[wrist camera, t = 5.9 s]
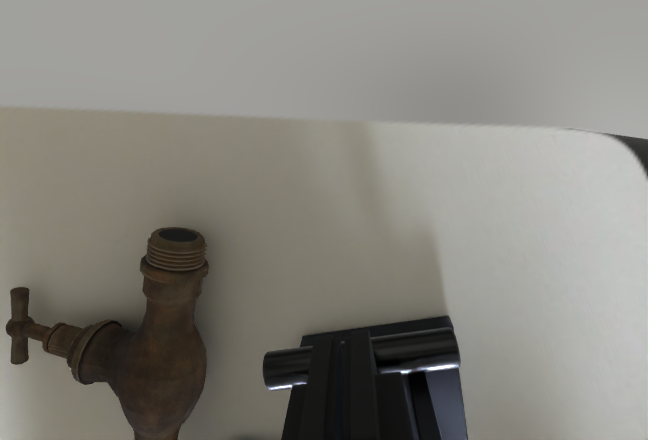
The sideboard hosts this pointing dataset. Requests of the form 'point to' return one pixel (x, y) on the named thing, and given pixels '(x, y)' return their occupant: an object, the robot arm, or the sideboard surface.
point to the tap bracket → (423, 385)
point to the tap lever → (389, 353)
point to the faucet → (138, 339)
